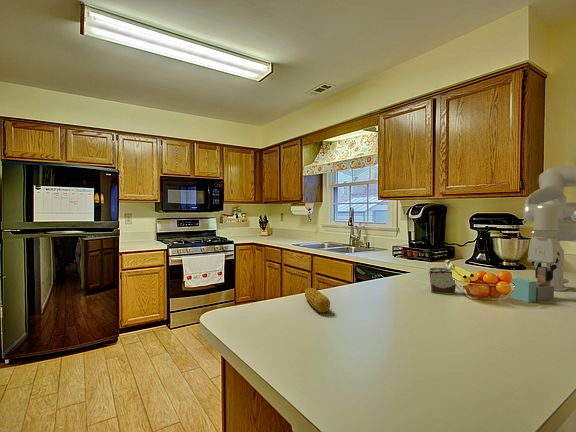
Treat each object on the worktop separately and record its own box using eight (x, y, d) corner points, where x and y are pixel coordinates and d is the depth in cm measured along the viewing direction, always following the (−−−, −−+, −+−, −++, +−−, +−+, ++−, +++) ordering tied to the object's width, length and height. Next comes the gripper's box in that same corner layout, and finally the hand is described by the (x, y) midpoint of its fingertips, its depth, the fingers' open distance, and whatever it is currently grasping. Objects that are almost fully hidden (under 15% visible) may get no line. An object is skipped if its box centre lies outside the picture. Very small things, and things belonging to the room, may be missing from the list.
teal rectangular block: (518, 296, 132) (518, 277, 132) (535, 301, 125) (536, 281, 125) (510, 297, 131) (511, 278, 131) (528, 302, 124) (528, 282, 124)
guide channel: (538, 295, 135) (538, 283, 135) (553, 299, 129) (554, 286, 129) (523, 296, 132) (523, 284, 132) (537, 300, 127) (538, 287, 126)
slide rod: (542, 288, 133) (543, 266, 133) (550, 289, 131) (550, 267, 130) (530, 289, 131) (530, 267, 131) (537, 291, 128) (538, 268, 128)
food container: (452, 290, 142) (453, 267, 141) (458, 294, 136) (459, 270, 135) (423, 289, 143) (424, 267, 143) (428, 292, 137) (428, 269, 136)
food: (332, 314, 108) (332, 297, 108) (316, 315, 106) (316, 298, 106) (313, 297, 128) (313, 282, 128) (299, 298, 127) (300, 283, 127)
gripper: (518, 233, 138) (517, 275, 138) (561, 236, 122) (559, 284, 122) (531, 232, 140) (530, 274, 140) (574, 236, 124) (573, 283, 125)
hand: (543, 278), depth 131 cm, fingers closed on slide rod, 3 cm apart
